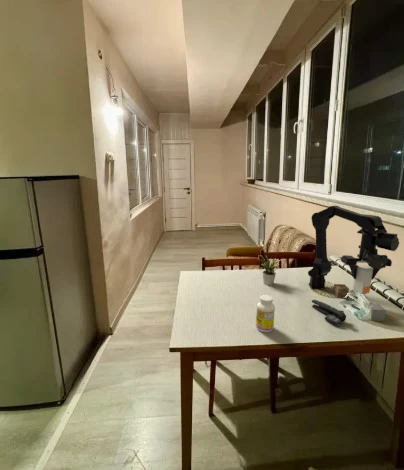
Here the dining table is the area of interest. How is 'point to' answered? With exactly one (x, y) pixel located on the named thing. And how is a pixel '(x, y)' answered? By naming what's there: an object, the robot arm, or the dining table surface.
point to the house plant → (268, 271)
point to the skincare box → (363, 279)
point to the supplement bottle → (265, 314)
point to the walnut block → (340, 290)
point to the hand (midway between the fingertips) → (363, 279)
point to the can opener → (330, 313)
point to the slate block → (377, 312)
